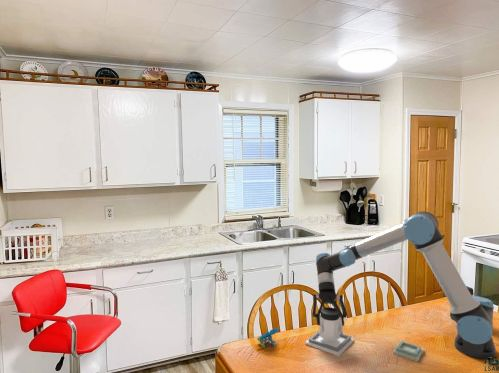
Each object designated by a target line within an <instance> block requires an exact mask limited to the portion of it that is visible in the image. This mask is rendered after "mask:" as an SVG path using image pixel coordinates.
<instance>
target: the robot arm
mask: <svg viewBox="0 0 499 373" xmlns="http://www.w3.org/2000/svg"><path fill="white" fill-rule="evenodd" d="M405 241H409V242H410V243H412V244H413V246H414V248H415V250H416V251H418V252H420V253H422V255H423V257H424V260H425V261H426V262H427V265H428V266H429V267H430V269H431V272H432V273H433V275H434V277H435V279H436V281H437V283H438V285H439V286H440V287H441V290H442V291H443V293H444V295H445V297H446V299H447V300H448V302H449V304H450V310H449V312H451V314H452V316H453V318H454V319H453V320H454V321H455V323H456V325H455V326H456V327H455V328H456V329H457V330H456V331H457V334H456V336H455V339H454V343H453V344H454V347H455V349H456V350H457V351H458V352H460V353H462V354H464V355H466V356H469V357H472V358H475V359H480V360H481V359H483V360H488V359H487V358H488V357H494V358H495V357H496V353H497V352H496V351H497V349H496V345H495V342H494V339H493V334H494V328H493V327H494V322H493V320H494V309H495V307H494V302H493V301H492V300H490V299H489V298H486V297H482V296H478V295H473V296H471V294H470V292H469V290H468V289H467V287H466V286H467V285H466V284H465V282H464V279H462V276H461V274H460V272H458V270H457V267H456V266H455V264H454V262H453V261H452V259H451V257H450V255H449V254H448V252H447V249H446V248H445V246H444V245H443V242H444V237H443V235H442V233H441V232H440V230H439V219H438V218H437V217H436V216H435V215H434V214H433V213H431V212H429V211H418V212H415V214H412V215H411V216H408V218H406V219H404V220H403V221H402V223H401V224H397V225H396V226H394V227H391V228H388V229H386V230H384V231H382V232H379V233H377V234H374V235H373V236H370V237H367V238H365V239H364V240H361V241H359V242H356V243H353V244H351V245H348V246H347V247H345V248H344V249H341V250H340V251H339V252H335V253H333V254H330V253H327V252H321V253H318V254H317V255H316V257H315V260H316V261H315V265H316V272H317V274H316V275H317V283H318V285H317V286H318V294H315V293H314V294H313V296H312V300H313V302H312V303H313V305H312V312H311V316H312V317H313V318H315V319H316V325H317V326H319V328H320V334H322V332H323V329H322V320H321V317H320V315H321V309H323V308H324V305H328V304H329V305H331V306H332V308H335V309H337V310H338V311H339V314H340V316H339V317H340V334H344V329H343V327H344V326H345V319H346V318H348V312H347V309H346V306H345V303H344V299H343V298H344V295H342V294H341V295H339V294H337V293H336V287H335V286H336V285H335V280H334V279H335V278H334V272H336V271H338V270H340V269H343V268H344V269H345V268H346V267H350V266H352V265H354V264H355V263H356V261H357V260H359V259H362V258H364V257H367V256H369V255H371V254H375V253H378V252H379V251H383V250H385V249H387V248H390V247H393V246H395V245H397V244H400V243H402V242H405ZM318 299H319V300H320V301H321V302H320V305H319V309H318V311H317V303H318V302H317V300H318ZM336 299H337V301H338V303H339V305H338V304H337V301H336ZM339 306H340V307H339ZM451 306H452V307H451ZM316 312H317V313H316Z"/></svg>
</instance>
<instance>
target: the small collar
mask: <svg viewBox="0 0 499 373" xmlns="http://www.w3.org/2000/svg"><path fill="white" fill-rule="evenodd" d="M424 351H425V349H424V348H423V347H421V346H420V345H417V344H414V343H411V342H407V341H404V340H401V341H399V342H398V343H397V345H396V346H395V348H394V349H393V350H392V355H393V354H394V355H397V356H399V357H403V358H406V359H408V360H412V361H415V362H419V360H420V359H421V358H422V356H423V354H424Z"/></svg>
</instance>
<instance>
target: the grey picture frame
mask: <svg viewBox="0 0 499 373" xmlns="http://www.w3.org/2000/svg"><path fill="white" fill-rule="evenodd" d="M354 341H355V338H352V336H351V335H348V334H345V333H342V334H340V338H339V339H338V340H336V341H334V342H332V341H325V340H323V339H322V338H321V337H320V335H319V330H318V331H316V332H315V333H314V334H313V335H312V336H310V337H309V338H308V339H307V340H306V341H305V345H307V346H310V347H313V348H314V349H315V348H316V349H318V350H321V351H324V352H326V353H329V354H332V355H335V356H338V357H340V356H341V355H342V354H343V353H344V352H345V351H346V350H347V349H348V348H349V347H350V346H351V344H353V343H354Z"/></svg>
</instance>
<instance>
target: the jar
mask: <svg viewBox="0 0 499 373" xmlns="http://www.w3.org/2000/svg"><path fill="white" fill-rule="evenodd" d="M339 316H340V314H339V311H338V310H337V309H335V308H334V307H323V308H322V309H321V314H320V317H321V320H322V329H323V332H322V334H320V327H318V328H319V329H318V331H319V335H320V337H321V338H322V339H323V340H325V341H332V342H334V341H336V340H338V339H339V338H340V317H339Z"/></svg>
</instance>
